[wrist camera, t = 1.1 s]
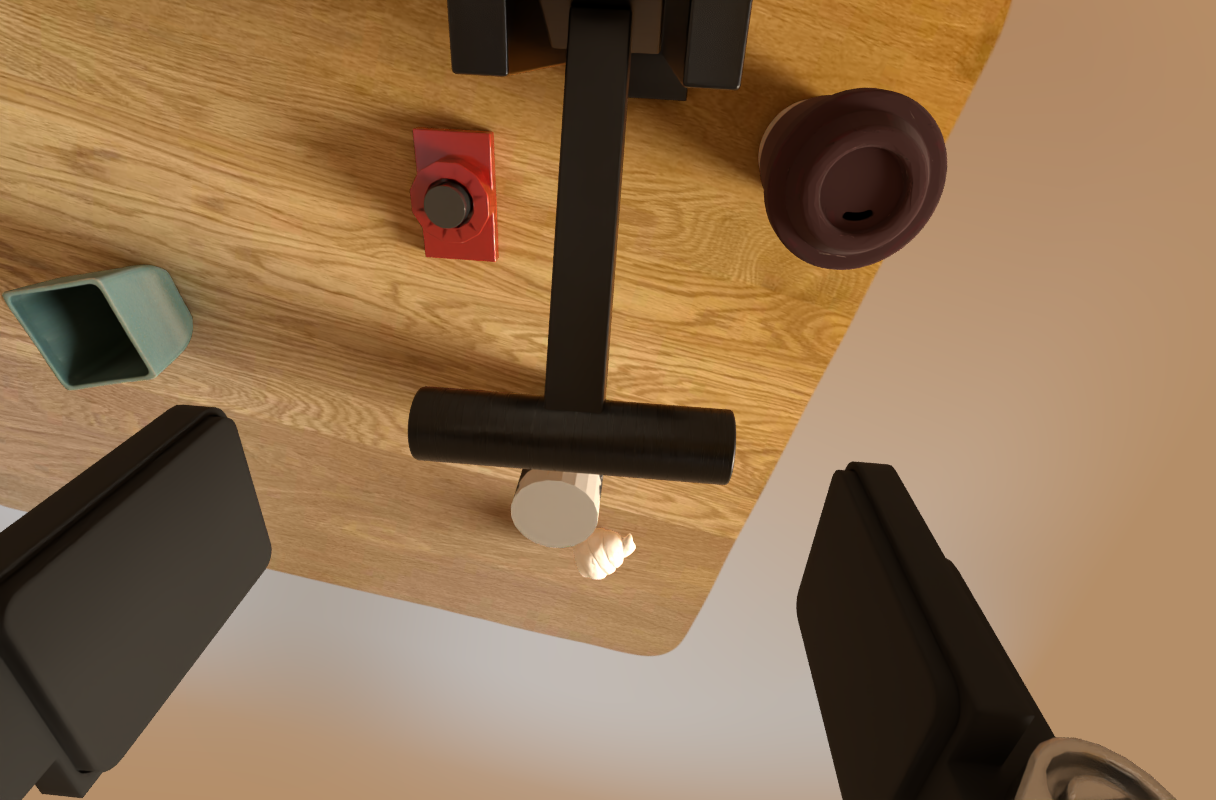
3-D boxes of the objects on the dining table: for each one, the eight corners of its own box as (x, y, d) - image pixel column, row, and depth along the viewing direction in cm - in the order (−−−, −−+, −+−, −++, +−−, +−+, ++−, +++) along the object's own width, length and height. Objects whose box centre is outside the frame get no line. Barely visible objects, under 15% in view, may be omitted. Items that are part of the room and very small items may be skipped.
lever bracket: (685, 99, 45) (768, 256, 12) (591, 94, 45) (412, 232, 12) (702, -69, 40) (934, -632, 7) (596, -75, 40) (314, -644, 7)
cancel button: (428, 179, 47) (421, 184, 45) (469, 182, 47) (463, 187, 45) (432, 221, 49) (425, 227, 47) (472, 224, 48) (466, 230, 47)
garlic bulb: (643, 543, 68) (642, 580, 63) (593, 555, 69) (589, 593, 64) (625, 506, 65) (623, 542, 60) (574, 520, 67) (568, 557, 62)
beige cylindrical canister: (529, 396, 59) (494, 495, 46) (592, 373, 57) (574, 468, 44) (561, 450, 62) (536, 557, 49) (621, 429, 60) (612, 534, 47)
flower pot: (176, 243, 54) (95, 277, 46) (223, 334, 58) (157, 379, 50) (89, 258, 55) (-4, 293, 47) (142, 346, 59) (65, 391, 51)
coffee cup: (791, 49, 43) (849, 51, 30) (902, 121, 45) (1002, 152, 32) (714, 178, 48) (736, 228, 35) (818, 239, 50) (876, 307, 37)
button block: (416, 126, 47) (402, 131, 45) (494, 131, 47) (485, 136, 45) (429, 253, 53) (417, 263, 50) (499, 257, 52) (491, 269, 50)
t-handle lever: (717, 471, 13) (736, 500, 11) (438, 448, 13) (395, 472, 11) (769, -89, 12) (803, -198, 10) (464, -104, 12) (423, -214, 10)
